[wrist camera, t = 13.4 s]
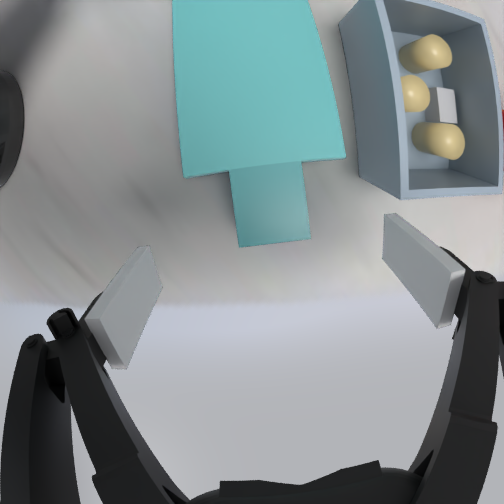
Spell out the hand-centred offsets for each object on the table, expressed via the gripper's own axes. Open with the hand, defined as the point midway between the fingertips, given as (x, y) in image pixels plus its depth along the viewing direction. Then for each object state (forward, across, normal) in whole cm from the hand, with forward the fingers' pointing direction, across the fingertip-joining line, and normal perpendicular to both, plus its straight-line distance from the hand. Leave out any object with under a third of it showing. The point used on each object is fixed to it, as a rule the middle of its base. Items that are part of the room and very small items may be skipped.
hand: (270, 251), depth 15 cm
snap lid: (+12, +1, +8) cm, 14 cm away
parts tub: (+10, +14, +8) cm, 19 cm away
